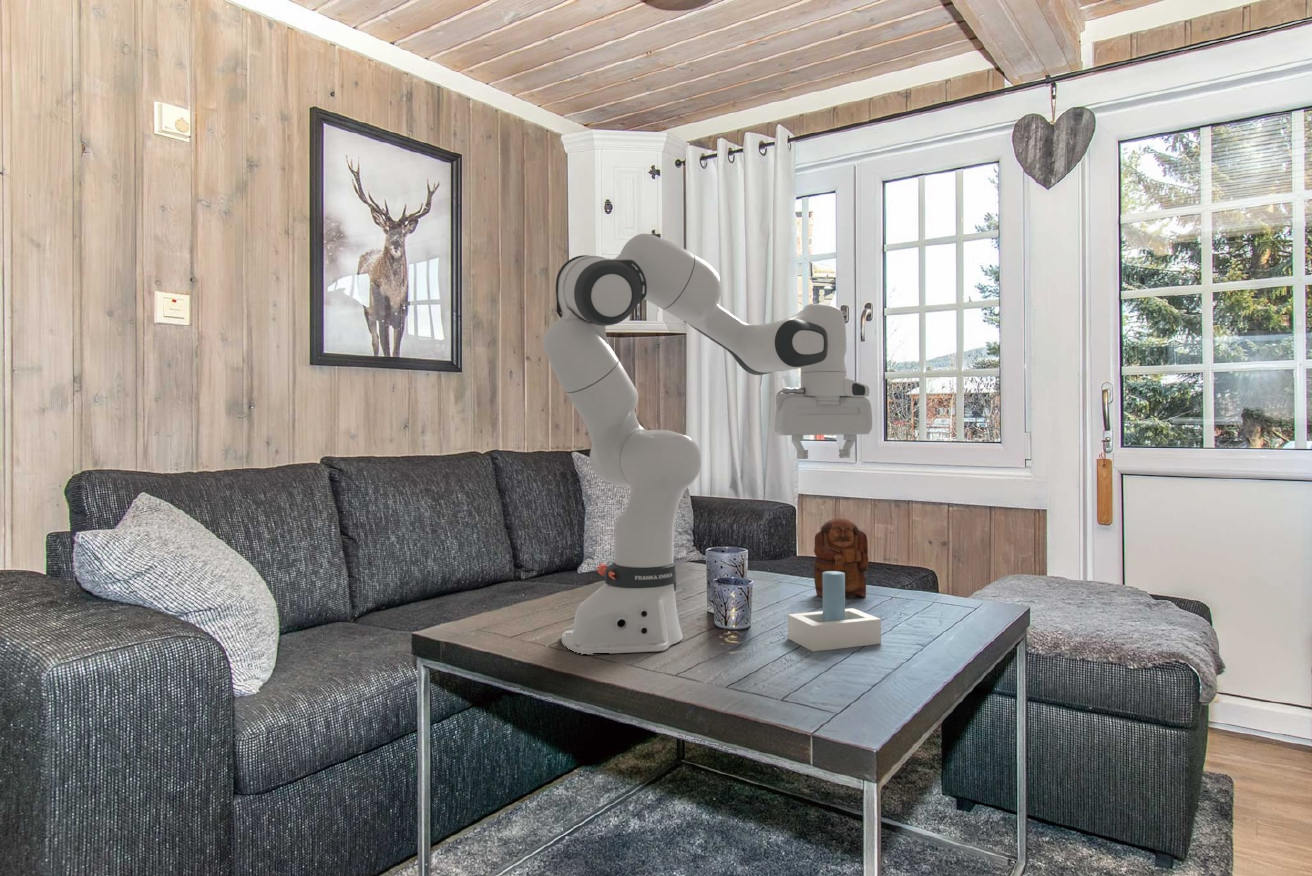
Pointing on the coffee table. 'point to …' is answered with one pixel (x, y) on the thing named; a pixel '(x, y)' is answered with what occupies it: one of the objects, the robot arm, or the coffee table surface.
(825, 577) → the blue pin
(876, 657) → the coffee table surface
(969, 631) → the coffee table surface
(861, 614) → the slot block
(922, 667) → the coffee table surface
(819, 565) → the wooden figurine
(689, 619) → the coffee table surface
